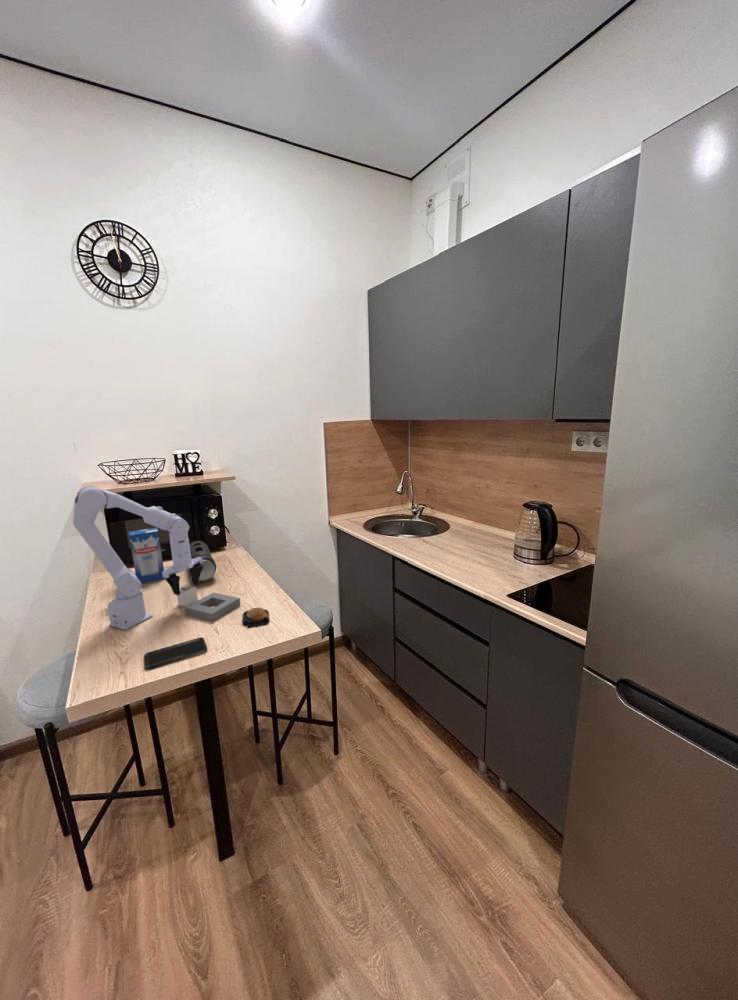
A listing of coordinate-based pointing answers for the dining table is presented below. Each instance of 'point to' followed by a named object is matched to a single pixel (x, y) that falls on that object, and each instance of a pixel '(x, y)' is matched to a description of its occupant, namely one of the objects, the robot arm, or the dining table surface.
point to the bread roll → (255, 617)
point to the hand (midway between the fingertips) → (186, 589)
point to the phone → (174, 653)
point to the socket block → (211, 614)
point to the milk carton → (147, 555)
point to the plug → (187, 595)
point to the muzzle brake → (203, 559)
